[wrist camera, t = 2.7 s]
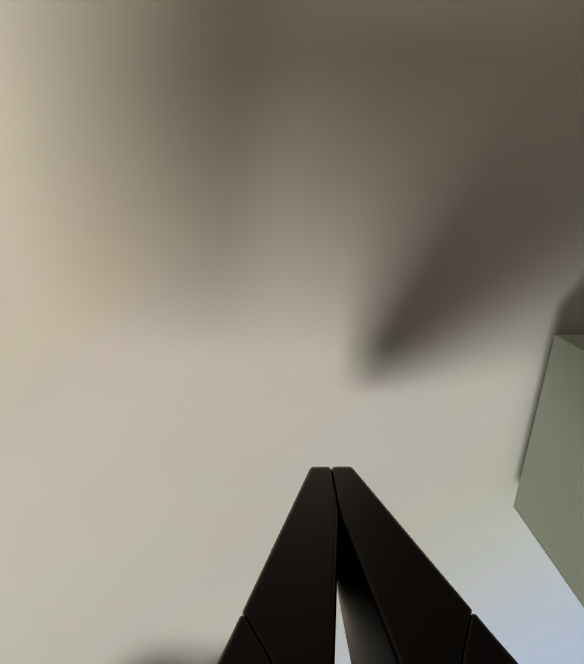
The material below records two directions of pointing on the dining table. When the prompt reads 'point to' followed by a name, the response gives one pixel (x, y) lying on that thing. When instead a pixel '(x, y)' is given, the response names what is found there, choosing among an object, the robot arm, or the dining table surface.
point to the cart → (558, 464)
